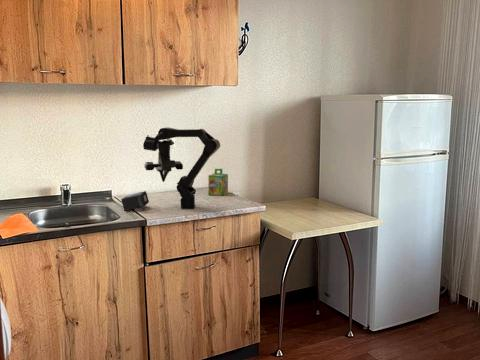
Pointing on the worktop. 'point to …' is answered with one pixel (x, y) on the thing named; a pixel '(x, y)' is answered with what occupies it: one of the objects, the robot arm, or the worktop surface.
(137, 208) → the stop strip
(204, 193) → the worktop surface
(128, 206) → the small box
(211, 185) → the chalk box
